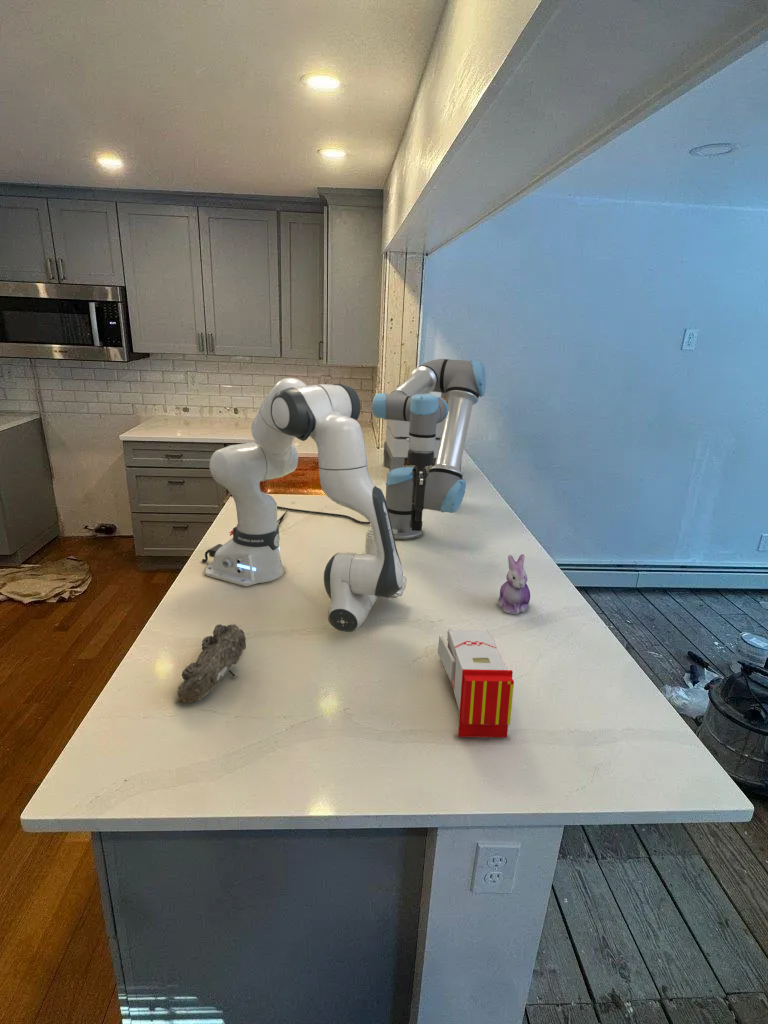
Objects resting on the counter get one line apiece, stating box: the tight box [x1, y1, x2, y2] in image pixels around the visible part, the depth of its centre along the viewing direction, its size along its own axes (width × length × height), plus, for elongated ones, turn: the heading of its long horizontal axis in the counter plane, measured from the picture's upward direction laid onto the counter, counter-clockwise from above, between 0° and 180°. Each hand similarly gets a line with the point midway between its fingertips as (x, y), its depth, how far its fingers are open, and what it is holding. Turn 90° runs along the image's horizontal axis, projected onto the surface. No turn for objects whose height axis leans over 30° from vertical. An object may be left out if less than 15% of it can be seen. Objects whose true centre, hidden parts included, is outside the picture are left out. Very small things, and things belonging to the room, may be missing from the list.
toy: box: [437, 628, 515, 738], centre depth 117 cm, size 12×13×30 cm
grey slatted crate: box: [383, 384, 463, 473], centre depth 268 cm, size 34×33×41 cm
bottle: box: [364, 525, 377, 554], centre depth 156 cm, size 5×5×22 cm
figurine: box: [498, 553, 531, 615], centre depth 151 cm, size 9×10×15 cm
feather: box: [277, 510, 288, 528], centre depth 213 cm, size 2×28×2 cm
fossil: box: [176, 623, 247, 704], centre depth 119 cm, size 22×10×15 cm
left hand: (374, 568), depth 158 cm, fingers closed on bottle, 5 cm apart
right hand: (415, 527), depth 168 cm, fingers closed on cap, 4 cm apart
